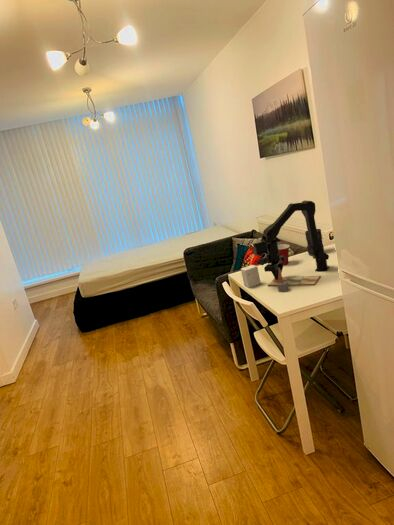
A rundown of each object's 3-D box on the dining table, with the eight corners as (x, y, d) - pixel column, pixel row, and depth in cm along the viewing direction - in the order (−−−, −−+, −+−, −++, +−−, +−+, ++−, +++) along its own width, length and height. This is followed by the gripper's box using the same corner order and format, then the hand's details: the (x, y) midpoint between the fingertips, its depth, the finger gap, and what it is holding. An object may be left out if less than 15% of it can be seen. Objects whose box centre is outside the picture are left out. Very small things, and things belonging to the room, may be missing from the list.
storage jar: (308, 252, 254) (305, 230, 251) (324, 250, 251) (321, 227, 247) (308, 256, 245) (304, 234, 242) (324, 254, 242) (320, 231, 238)
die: (281, 289, 202) (280, 281, 201) (288, 288, 200) (287, 281, 199) (278, 292, 199) (277, 284, 198) (286, 291, 197) (284, 284, 196)
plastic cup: (293, 265, 236) (290, 246, 233) (275, 268, 238) (272, 249, 235) (292, 260, 246) (289, 242, 243) (275, 263, 248) (271, 245, 245)
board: (275, 278, 220) (275, 277, 220) (320, 276, 206) (320, 275, 206) (267, 286, 210) (267, 285, 210) (314, 285, 196) (314, 283, 196)
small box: (256, 281, 222) (252, 264, 220) (261, 283, 217) (257, 266, 215) (244, 286, 220) (240, 268, 217) (248, 288, 215) (245, 270, 212)
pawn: (276, 279, 216) (273, 265, 214) (284, 279, 213) (281, 265, 211) (273, 282, 212) (270, 268, 210) (281, 282, 209) (278, 268, 207)
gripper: (265, 247, 220) (270, 272, 224) (252, 257, 206) (258, 284, 209) (284, 245, 214) (289, 271, 218) (272, 256, 199) (277, 284, 203)
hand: (278, 278), depth 212 cm, fingers closed on pawn, 4 cm apart
